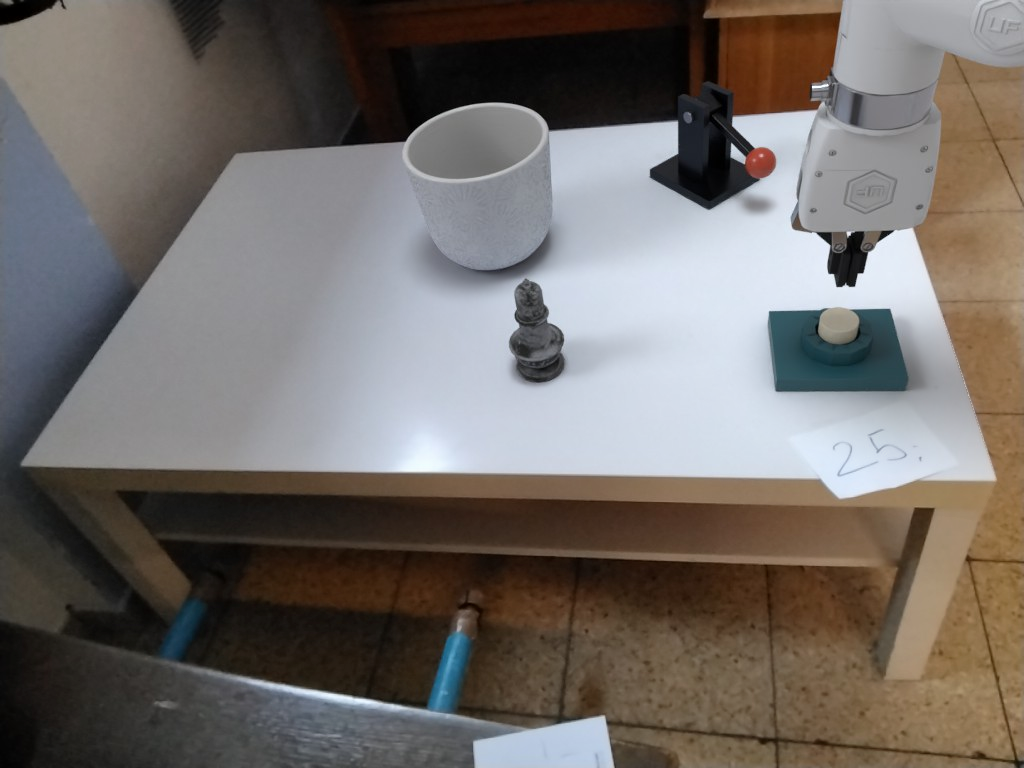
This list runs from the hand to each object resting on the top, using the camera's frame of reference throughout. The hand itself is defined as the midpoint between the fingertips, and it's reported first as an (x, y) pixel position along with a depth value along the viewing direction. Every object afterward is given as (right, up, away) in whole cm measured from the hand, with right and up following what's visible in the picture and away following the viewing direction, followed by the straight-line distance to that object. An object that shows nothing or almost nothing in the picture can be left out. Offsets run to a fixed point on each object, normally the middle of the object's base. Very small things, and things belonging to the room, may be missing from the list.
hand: (843, 277), depth 77 cm
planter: (-33, +7, +28) cm, 44 cm away
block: (+2, -7, +7) cm, 10 cm away
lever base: (-6, +17, +32) cm, 36 cm away
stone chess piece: (-28, -8, +12) cm, 31 cm away
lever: (-4, +19, +24) cm, 31 cm away
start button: (+1, -5, +5) cm, 7 cm away
